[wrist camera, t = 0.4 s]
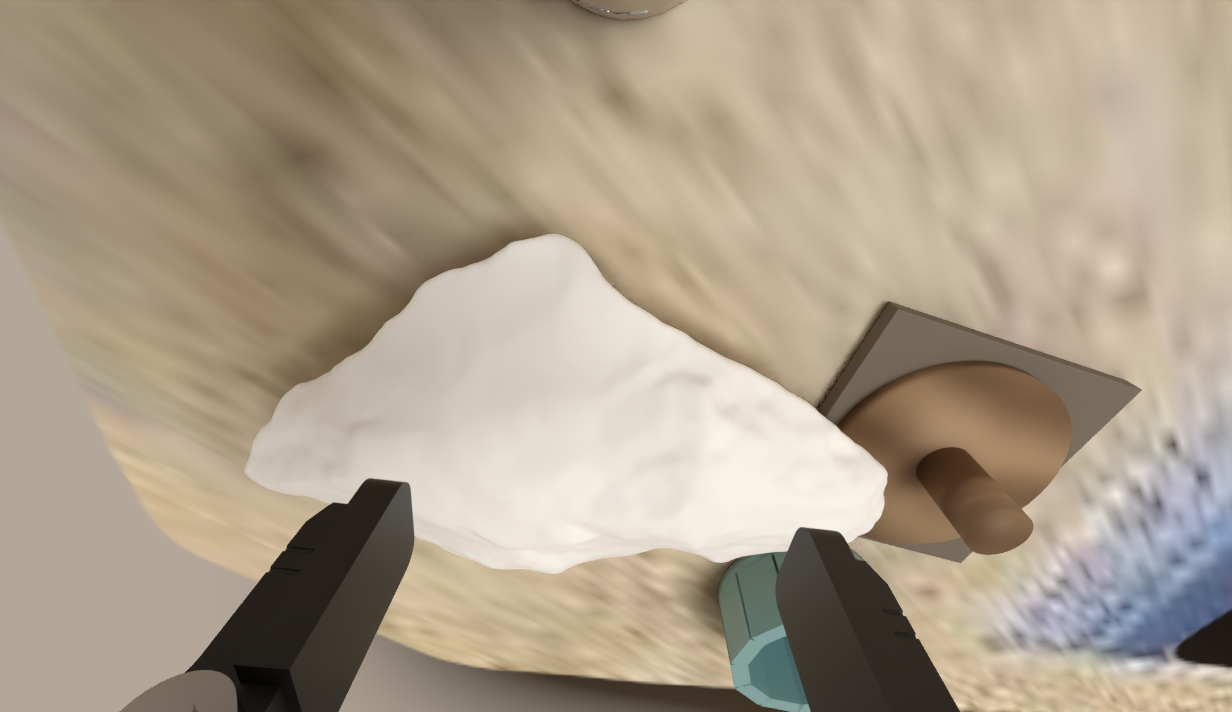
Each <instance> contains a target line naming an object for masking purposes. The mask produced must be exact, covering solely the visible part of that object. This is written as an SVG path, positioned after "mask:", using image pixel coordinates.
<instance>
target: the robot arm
mask: <svg viewBox="0 0 1232 712" xmlns="http://www.w3.org/2000/svg"><path fill="white" fill-rule="evenodd" d="M571 1H572V2H574V3H576V4H578V5H580V6H581V7H583V8H585V9H587V10H589V11H591V12H593V13H595V14H598V15H602V16H606V17H610V18H614V19H643V18H647V17H651V16H654V15H658V14H662V13H665V12H666V11H668V10H670V9H672V8H674V7H676V6H677V5H679V4H681V3H683V2H685V1H686V0H571ZM413 546H414V524H413V512H412V499H411V488H410V485H409V483H408V482H401V481H392V480H383V479H373V478H368V479H366V480H365V481H364V482H363V483H362V484H361V486H360V487H359V489H358V490H357V491H356V493H355V494H354V496H353V497H352V498H351V500H350V501H349V503H348V504H345V503H335V502H333V503H331V504H330V505H329V506H327V507H326V508H324V509H323V510H322V511H320V512H319V513H317V514H316V515H315V516H313V517H312V518H310V519H309V520H308V521H306V522H305V524H304V525H303V526H302V527H301V529H300V530H299V531H298V533H297V534H296V535H295V536H294V538H293V539H292V540H291V541H290V543H289V544H288V545H287V549H286V551H283V552H282V553H281V554H280V555H279V557H278V558H277V559H276V561H275V562H274V563H273V564H272V566H271V569H270V571H269V572H266V573H265V575H264V576H263V577H262V578H261V580H260V581H259V582H258V584H257V585H256V586H255V587H254V589H253V590H252V591H251V592H250V594H249V595H248V596H247V598H246V599H245V600H244V601H243V603H242V604H241V605H240V606H239V608H238V609H237V610H236V612H235V613H234V614H233V615H232V617H231V618H230V619H229V620H228V622H227V623H226V624H225V626H224V627H223V628H222V629H221V631H220V632H219V633H218V635H217V636H216V637H215V638H214V640H213V641H212V642H211V643H210V645H209V646H208V647H207V649H206V650H205V651H204V652H203V654H202V655H201V656H200V657H199V659H198V660H197V661H196V662H195V663H194V665H192V666H191V667H190V668H189V669H188V670H187V671H186V672H185V673H183V674H180V675H177V676H175V677H172V678H170V679H167V680H165V681H163V682H161V683H159V684H157V685H156V686H154V687H152V688H150V689H149V690H147V691H145V692H144V693H143V694H141V695H140V696H138V697H137V698H135V699H134V700H133V701H132V702H130V703H129V704H128V705H127V706H126V707H125V708H123V709H122V710H121V711H120V712H339V709H340V707H341V705H342V703H343V701H344V699H345V697H346V695H347V693H348V691H349V689H350V686H351V684H352V682H353V680H354V678H355V676H356V674H357V672H358V670H359V668H360V666H361V663H362V661H363V659H364V657H365V655H366V653H367V651H368V649H369V647H370V645H371V642H372V640H373V638H374V636H375V634H376V632H377V630H378V628H379V626H380V624H381V622H382V620H383V618H384V615H385V613H386V611H387V609H388V607H389V605H390V603H391V601H392V599H393V597H394V595H395V592H396V590H397V588H398V586H399V584H400V582H401V580H402V578H403V576H404V574H405V572H406V569H407V567H408V565H409V562H410V559H411V555H412V551H413ZM775 593H776V602H777V607H778V610H779V613H780V617H781V620H782V623H783V626H784V629H785V632H786V636H787V639H788V642H789V645H790V648H791V651H792V654H793V658H794V661H795V664H796V667H797V670H798V673H799V677H800V680H801V683H802V686H803V689H804V692H805V695H806V699H807V702H808V705H809V708H810V711H811V712H960V711H959V709H958V707H957V705H956V704H955V702H954V700H953V698H952V697H951V695H950V693H949V691H948V690H947V688H946V686H945V684H944V683H943V681H942V679H941V677H940V676H939V674H938V672H937V670H936V669H935V667H934V665H933V663H932V661H931V660H930V658H929V656H928V654H927V653H926V651H925V649H924V647H923V646H922V644H921V642H920V640H919V639H916V637H915V634H916V633H915V632H914V630H913V628H912V626H911V625H910V623H909V621H908V619H907V618H906V616H903V614H902V612H903V611H902V609H901V607H900V605H899V603H898V602H897V600H896V598H895V596H894V595H893V593H892V591H891V589H890V588H889V586H888V584H887V583H886V582H885V581H884V580H883V579H882V578H881V577H880V576H879V575H878V574H877V573H876V572H875V571H874V570H873V569H872V568H871V567H870V566H869V564H868V563H867V562H866V561H862V560H856V559H855V557H854V555H853V553H852V551H851V549H850V548H849V546H848V544H847V542H846V540H845V538H844V537H843V535H842V534H841V533H840V532H838V531H833V530H824V529H815V528H806V527H800V528H799V529H797V531H796V532H795V535H794V537H793V539H792V542H791V544H790V546H789V549H788V551H787V553H786V556H785V558H784V561H783V563H782V565H781V568H780V570H779V572H778V575H777V579H776V587H775Z"/></svg>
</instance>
